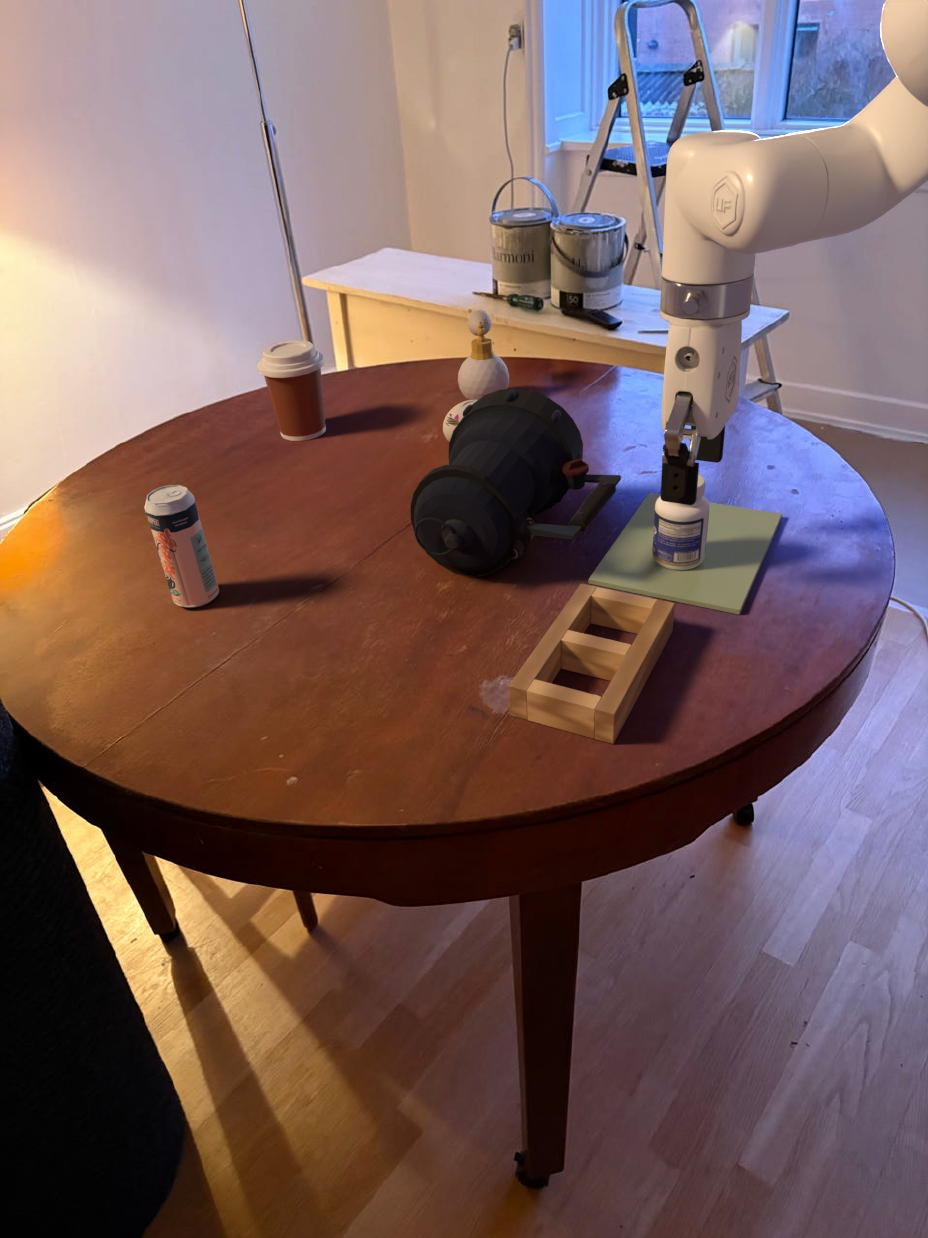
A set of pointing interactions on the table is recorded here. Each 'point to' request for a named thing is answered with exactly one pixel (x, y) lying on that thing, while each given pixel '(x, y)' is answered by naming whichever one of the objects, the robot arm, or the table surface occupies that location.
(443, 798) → the table surface
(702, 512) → the pill bottle
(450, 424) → the white rounded ceramic piece
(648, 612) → the rack
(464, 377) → the perfume bottle
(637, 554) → the mat
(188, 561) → the beer can
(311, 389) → the coffee cup
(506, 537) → the flashlight
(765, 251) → the robot arm
